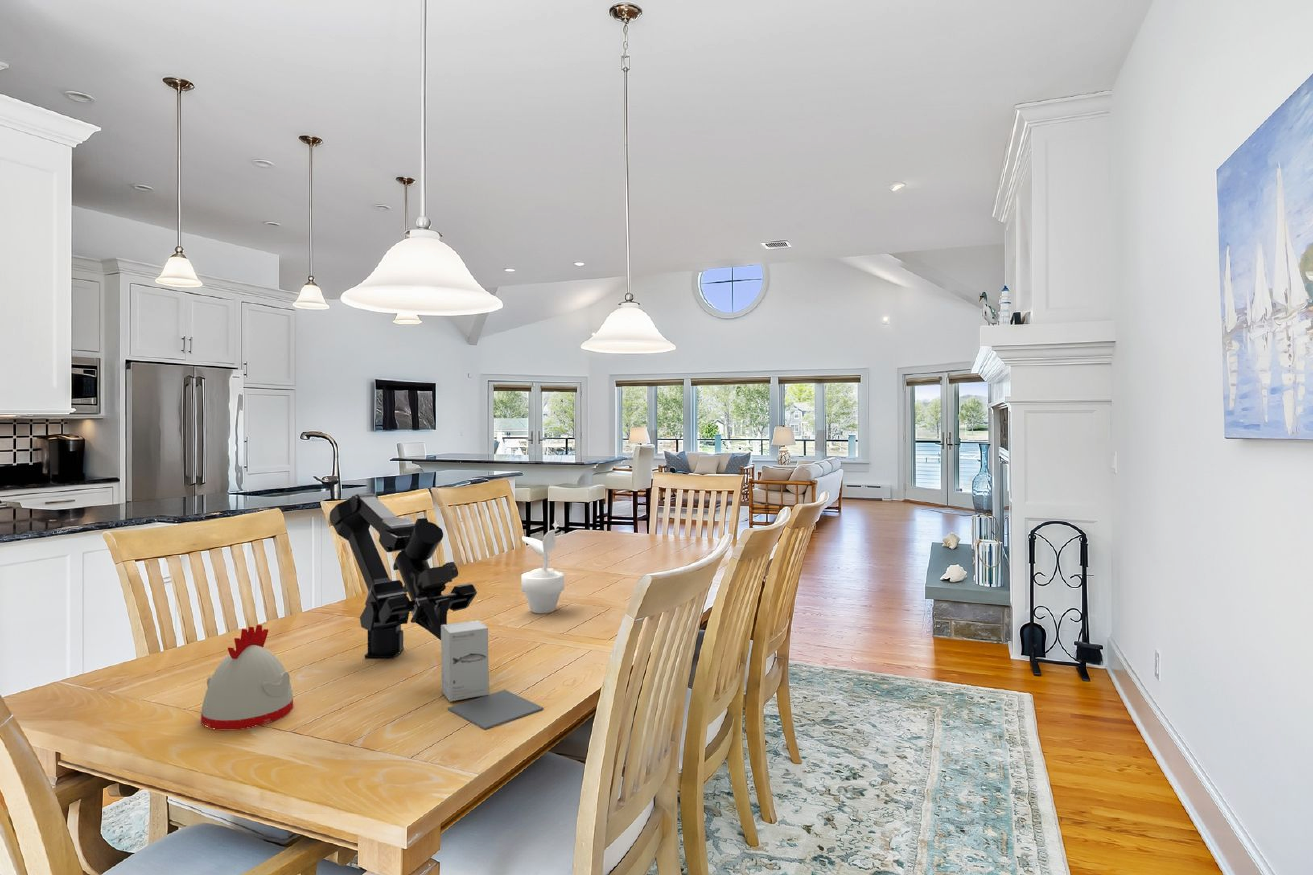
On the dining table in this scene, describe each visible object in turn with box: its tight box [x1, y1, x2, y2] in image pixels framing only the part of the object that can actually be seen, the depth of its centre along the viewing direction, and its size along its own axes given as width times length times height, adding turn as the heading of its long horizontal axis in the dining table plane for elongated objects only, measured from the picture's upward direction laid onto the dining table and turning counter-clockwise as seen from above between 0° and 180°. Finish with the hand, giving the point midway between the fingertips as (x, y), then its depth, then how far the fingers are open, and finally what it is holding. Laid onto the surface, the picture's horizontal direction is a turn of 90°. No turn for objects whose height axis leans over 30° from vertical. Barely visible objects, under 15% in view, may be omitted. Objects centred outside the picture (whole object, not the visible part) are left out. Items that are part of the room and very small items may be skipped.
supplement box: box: [440, 620, 490, 703], centre depth 135 cm, size 7×7×13 cm
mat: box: [447, 689, 545, 730], centre depth 128 cm, size 12×12×1 cm
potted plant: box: [521, 518, 565, 615], centre depth 194 cm, size 13×12×25 cm
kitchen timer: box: [200, 624, 294, 730], centre depth 125 cm, size 14×14×15 cm
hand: (444, 639), depth 140 cm, fingers closed
